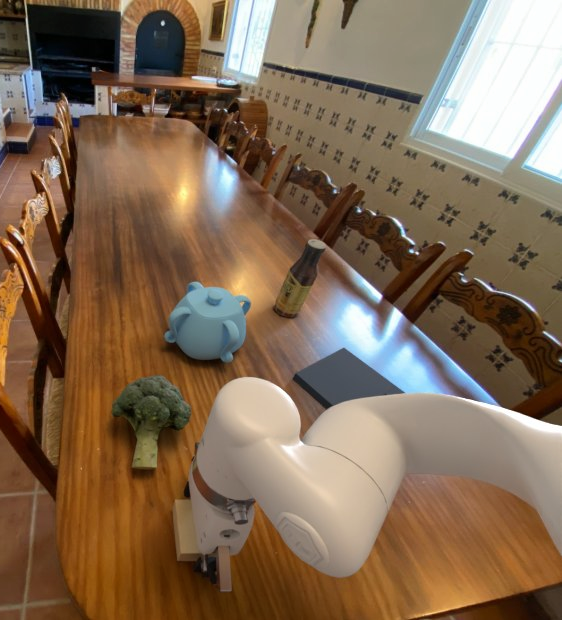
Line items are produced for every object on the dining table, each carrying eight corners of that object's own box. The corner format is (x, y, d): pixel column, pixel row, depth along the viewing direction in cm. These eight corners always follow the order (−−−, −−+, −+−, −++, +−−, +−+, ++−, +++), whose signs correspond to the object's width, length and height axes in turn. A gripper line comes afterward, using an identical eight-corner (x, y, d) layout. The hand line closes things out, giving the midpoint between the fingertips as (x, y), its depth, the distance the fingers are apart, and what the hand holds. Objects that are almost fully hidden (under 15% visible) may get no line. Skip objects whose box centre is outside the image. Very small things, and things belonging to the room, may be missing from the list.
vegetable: (87, 458, 55) (108, 365, 61) (140, 469, 63) (154, 386, 69) (147, 470, 47) (164, 362, 53) (198, 481, 55) (208, 386, 61)
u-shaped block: (432, 422, 68) (437, 416, 66) (384, 461, 61) (390, 455, 60) (340, 352, 80) (343, 347, 79) (292, 378, 74) (295, 372, 72)
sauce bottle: (271, 301, 93) (298, 233, 80) (295, 305, 93) (326, 236, 80) (275, 317, 88) (304, 247, 75) (300, 321, 88) (335, 251, 75)
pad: (225, 560, 48) (231, 552, 46) (177, 561, 48) (180, 553, 46) (215, 508, 53) (220, 499, 51) (172, 508, 53) (174, 499, 51)
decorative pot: (224, 382, 72) (241, 333, 63) (154, 348, 77) (161, 299, 69) (248, 335, 83) (266, 288, 74) (186, 309, 88) (195, 262, 80)
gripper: (290, 567, 32) (241, 609, 43) (241, 403, 45) (213, 468, 56) (208, 568, 32) (179, 611, 43) (183, 402, 45) (166, 468, 56)
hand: (199, 529), depth 50 cm, fingers open, 8 cm apart
